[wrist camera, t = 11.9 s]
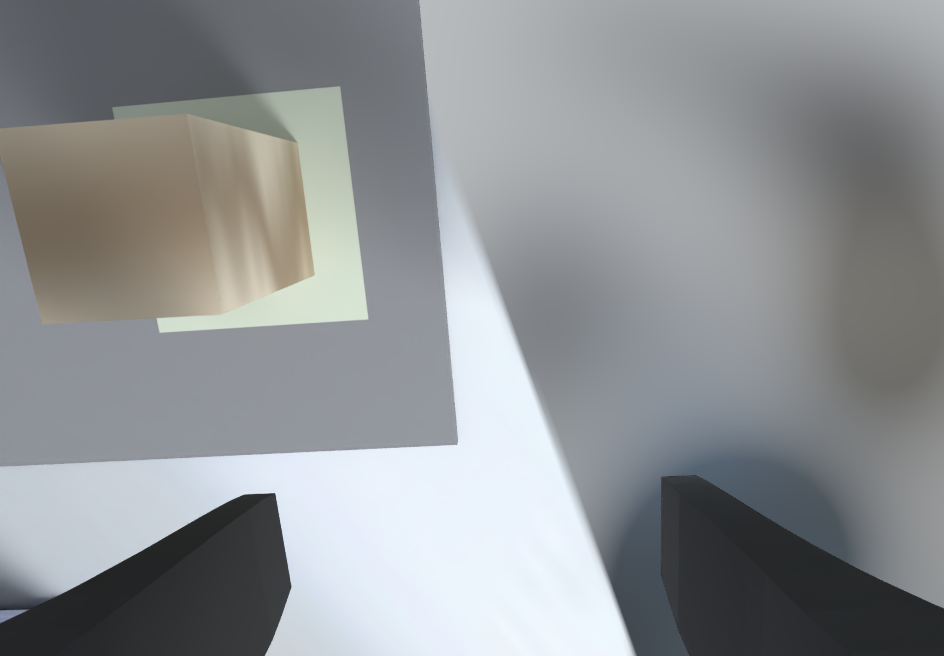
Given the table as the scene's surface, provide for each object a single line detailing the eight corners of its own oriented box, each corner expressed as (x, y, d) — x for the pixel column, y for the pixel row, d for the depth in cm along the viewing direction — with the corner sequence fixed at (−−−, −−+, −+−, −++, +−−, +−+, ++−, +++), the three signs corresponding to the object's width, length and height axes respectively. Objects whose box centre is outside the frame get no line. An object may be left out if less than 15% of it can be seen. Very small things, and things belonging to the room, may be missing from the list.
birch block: (314, 275, 17) (221, 314, 12) (193, 282, 18) (42, 324, 12) (297, 143, 17) (187, 114, 11) (169, 152, 17) (-7, 129, 11)
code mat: (457, 440, 19) (457, 445, 19) (-185, 471, 20) (-195, 476, 20) (410, -95, 15) (408, -101, 15) (-366, -6, 17) (-383, -10, 17)
